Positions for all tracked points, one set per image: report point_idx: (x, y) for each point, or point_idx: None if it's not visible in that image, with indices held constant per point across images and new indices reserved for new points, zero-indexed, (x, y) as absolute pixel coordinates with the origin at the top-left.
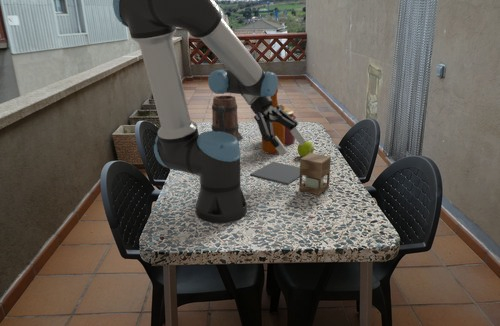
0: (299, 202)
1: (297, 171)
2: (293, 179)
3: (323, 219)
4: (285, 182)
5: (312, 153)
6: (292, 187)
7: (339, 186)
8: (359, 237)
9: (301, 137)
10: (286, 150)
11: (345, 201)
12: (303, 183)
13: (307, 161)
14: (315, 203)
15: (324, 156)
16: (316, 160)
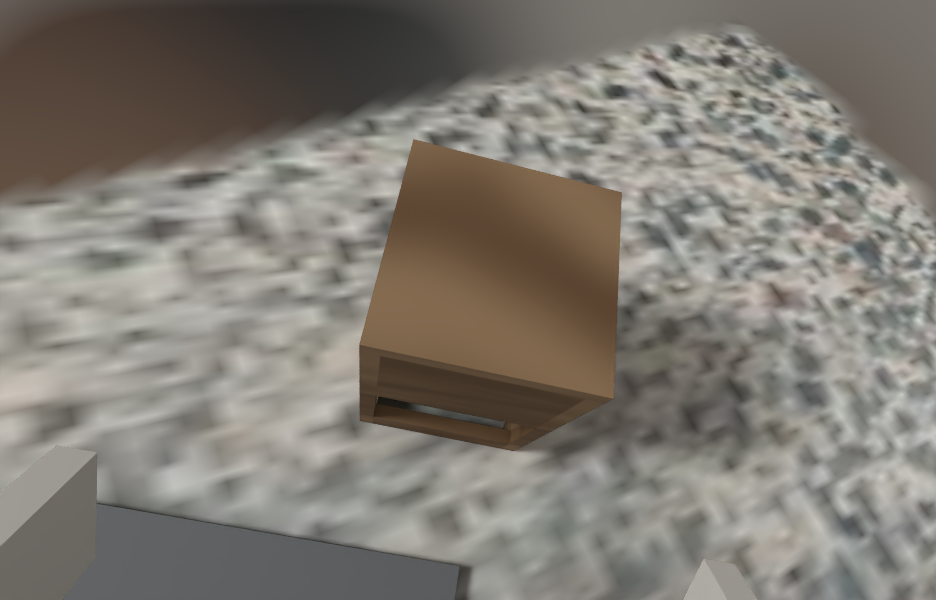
0: (676, 392)
1: (145, 595)
2: (363, 555)
3: (763, 245)
4: (452, 597)
5: (375, 319)
6: (492, 512)
7: (353, 226)
8: (797, 119)
9: (10, 558)
10: (731, 581)
11: None
12: (470, 429)
13: (610, 321)
14: (640, 309)
15: (431, 190)
16: (578, 238)
